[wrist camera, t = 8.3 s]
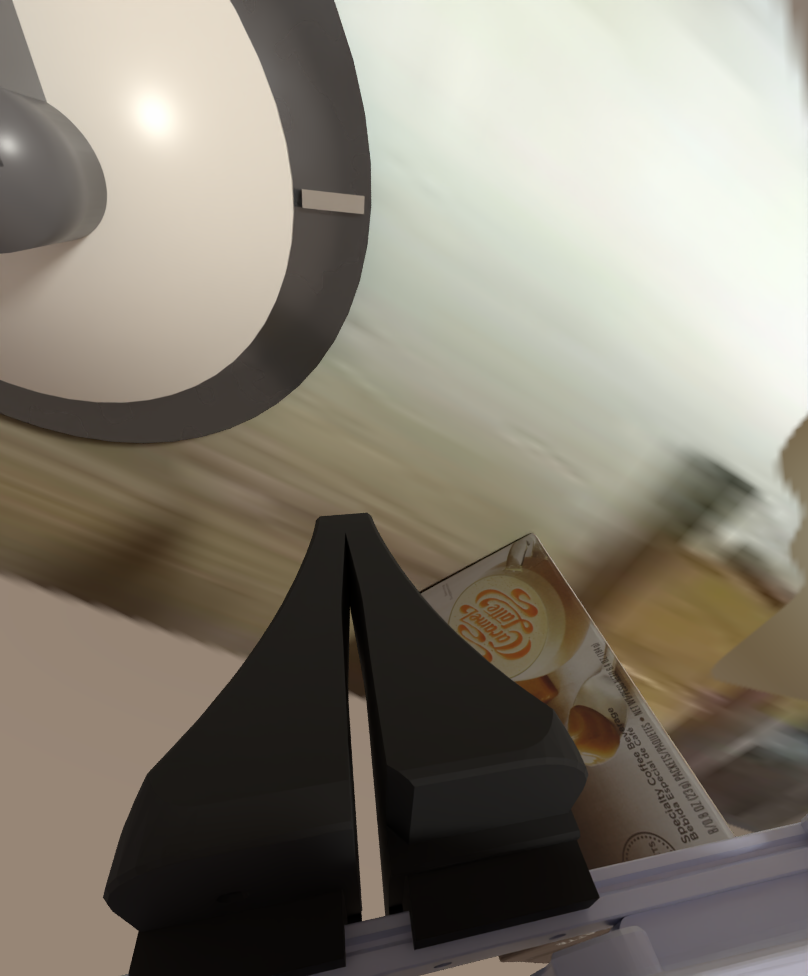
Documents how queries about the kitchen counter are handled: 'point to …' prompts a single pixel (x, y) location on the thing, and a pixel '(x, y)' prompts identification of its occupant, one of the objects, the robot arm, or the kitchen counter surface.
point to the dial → (135, 196)
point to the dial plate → (314, 252)
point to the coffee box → (581, 711)
